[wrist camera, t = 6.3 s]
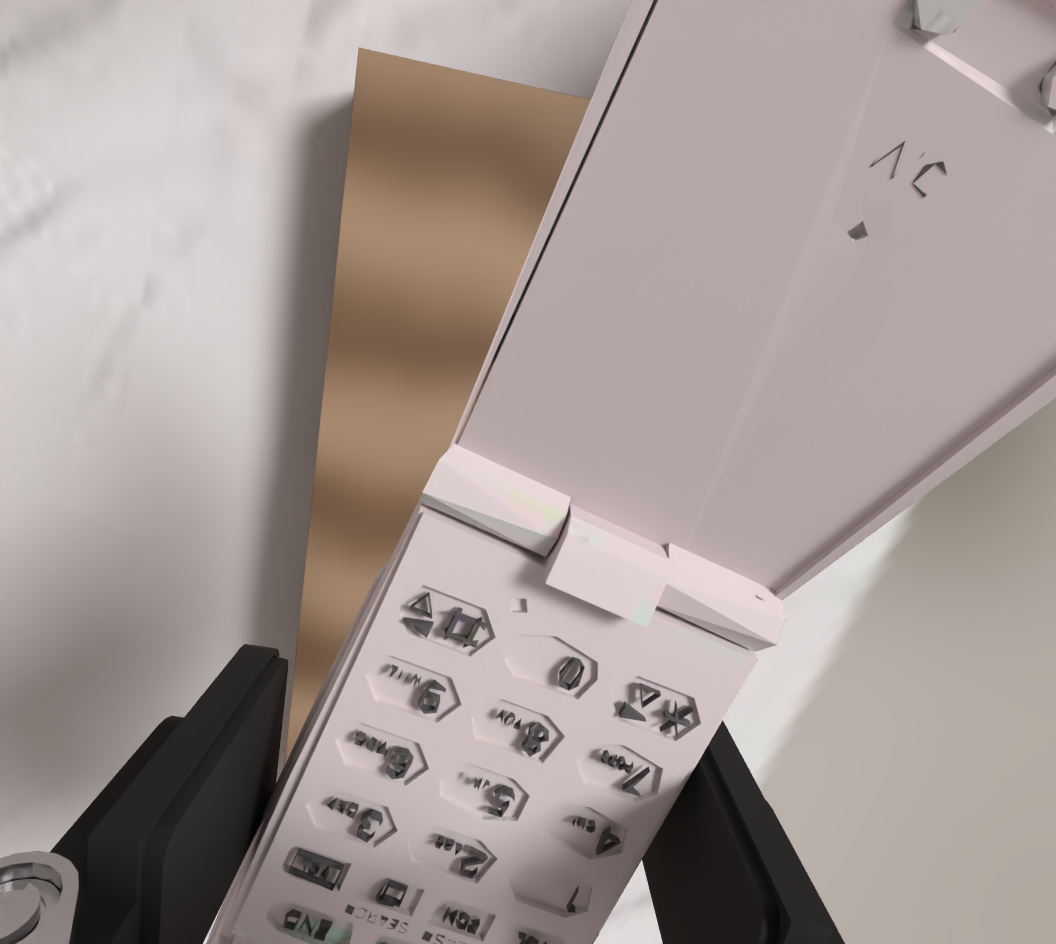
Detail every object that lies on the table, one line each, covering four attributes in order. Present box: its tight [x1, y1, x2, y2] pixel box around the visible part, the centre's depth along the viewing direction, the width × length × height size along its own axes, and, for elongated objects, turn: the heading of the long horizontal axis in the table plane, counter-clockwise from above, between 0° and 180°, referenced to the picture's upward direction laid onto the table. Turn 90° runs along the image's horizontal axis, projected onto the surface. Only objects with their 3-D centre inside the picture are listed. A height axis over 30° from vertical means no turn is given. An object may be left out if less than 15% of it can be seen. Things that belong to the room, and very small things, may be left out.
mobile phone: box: [206, 0, 1056, 944], centre depth 9 cm, size 6×6×25 cm
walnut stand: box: [285, 48, 591, 764], centre depth 24 cm, size 30×14×3 cm, turn 170°
